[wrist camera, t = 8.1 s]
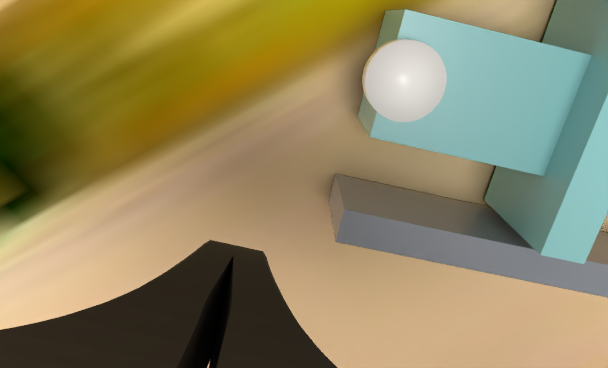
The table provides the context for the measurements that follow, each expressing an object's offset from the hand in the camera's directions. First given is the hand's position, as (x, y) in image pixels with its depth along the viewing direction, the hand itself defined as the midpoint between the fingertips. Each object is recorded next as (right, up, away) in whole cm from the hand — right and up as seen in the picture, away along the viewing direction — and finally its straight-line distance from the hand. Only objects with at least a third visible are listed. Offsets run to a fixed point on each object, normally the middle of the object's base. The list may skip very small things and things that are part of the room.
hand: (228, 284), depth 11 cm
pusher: (+8, +6, +8) cm, 12 cm away
